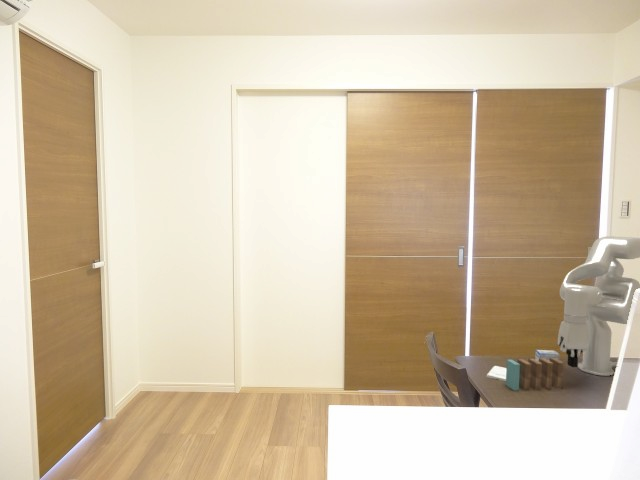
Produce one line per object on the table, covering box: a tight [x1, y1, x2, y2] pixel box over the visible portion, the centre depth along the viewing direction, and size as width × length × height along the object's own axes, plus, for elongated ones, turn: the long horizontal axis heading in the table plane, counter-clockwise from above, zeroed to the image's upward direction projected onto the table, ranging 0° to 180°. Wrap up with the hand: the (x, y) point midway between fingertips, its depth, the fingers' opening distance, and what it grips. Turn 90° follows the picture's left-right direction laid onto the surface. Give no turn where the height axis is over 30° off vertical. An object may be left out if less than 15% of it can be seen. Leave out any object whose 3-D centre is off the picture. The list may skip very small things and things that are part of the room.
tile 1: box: [550, 358, 564, 389], centre depth 156 cm, size 2×5×10 cm, turn 7°
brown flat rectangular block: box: [539, 358, 553, 390], centre depth 155 cm, size 2×5×10 cm, turn 8°
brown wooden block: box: [527, 358, 542, 390], centre depth 155 cm, size 2×5×10 cm, turn 7°
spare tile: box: [505, 358, 520, 392], centre depth 154 cm, size 2×5×10 cm, turn 8°
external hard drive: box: [486, 365, 507, 383], centre depth 166 cm, size 2×8×12 cm
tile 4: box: [517, 358, 531, 391], centre depth 154 cm, size 2×5×10 cm, turn 7°
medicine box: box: [534, 349, 561, 362], centre depth 170 cm, size 8×4×9 cm, turn 84°
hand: (572, 365), depth 156 cm, fingers closed
